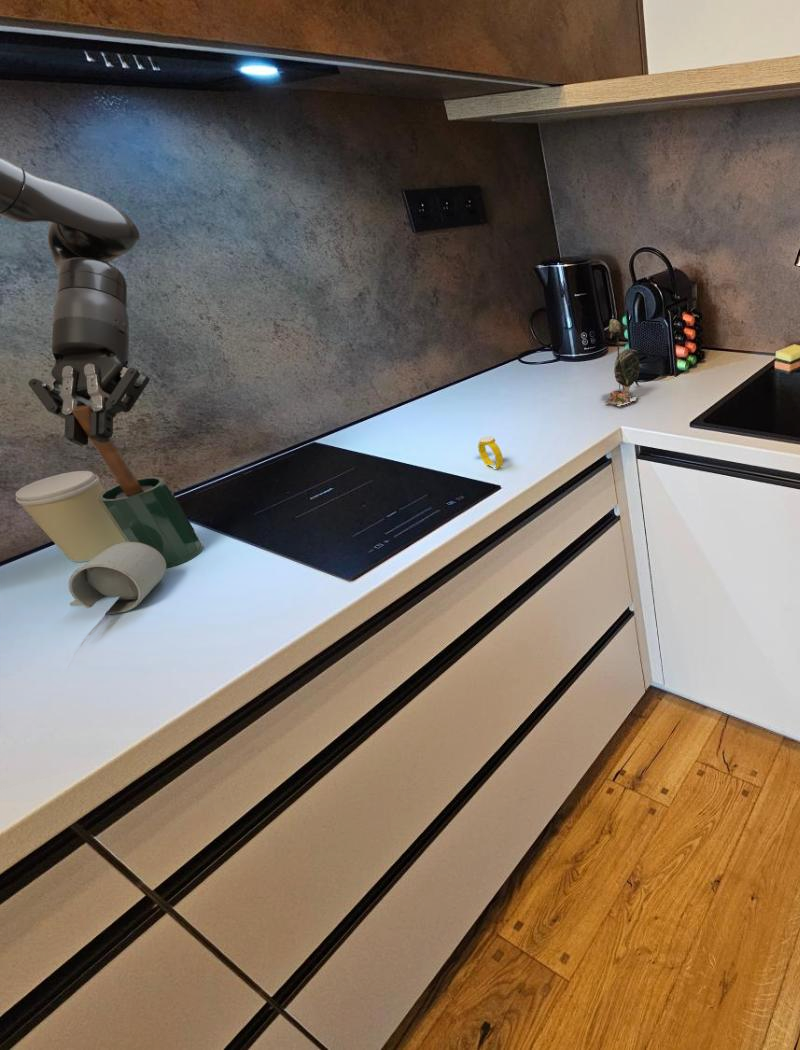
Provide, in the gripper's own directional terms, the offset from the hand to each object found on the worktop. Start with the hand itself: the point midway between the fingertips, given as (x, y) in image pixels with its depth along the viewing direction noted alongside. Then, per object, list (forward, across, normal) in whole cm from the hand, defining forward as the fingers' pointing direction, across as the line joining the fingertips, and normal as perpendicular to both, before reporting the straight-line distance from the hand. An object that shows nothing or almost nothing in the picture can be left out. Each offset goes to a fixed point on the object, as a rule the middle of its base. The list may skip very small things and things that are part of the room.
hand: (89, 441), depth 79 cm
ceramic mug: (+21, -1, +8) cm, 22 cm away
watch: (+2, +48, +28) cm, 55 cm away
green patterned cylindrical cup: (+13, 0, +16) cm, 20 cm away
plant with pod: (-18, +77, +48) cm, 93 cm away
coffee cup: (+8, -14, +21) cm, 26 cm away
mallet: (+8, 0, +11) cm, 14 cm away
